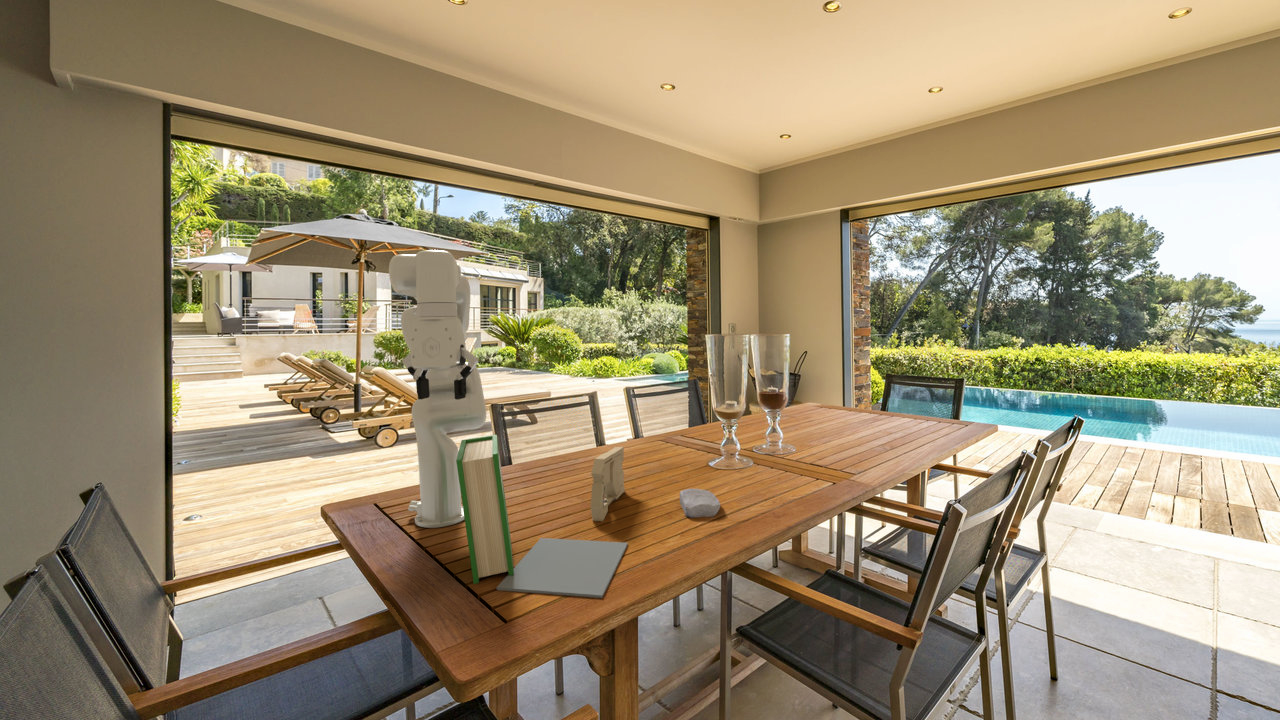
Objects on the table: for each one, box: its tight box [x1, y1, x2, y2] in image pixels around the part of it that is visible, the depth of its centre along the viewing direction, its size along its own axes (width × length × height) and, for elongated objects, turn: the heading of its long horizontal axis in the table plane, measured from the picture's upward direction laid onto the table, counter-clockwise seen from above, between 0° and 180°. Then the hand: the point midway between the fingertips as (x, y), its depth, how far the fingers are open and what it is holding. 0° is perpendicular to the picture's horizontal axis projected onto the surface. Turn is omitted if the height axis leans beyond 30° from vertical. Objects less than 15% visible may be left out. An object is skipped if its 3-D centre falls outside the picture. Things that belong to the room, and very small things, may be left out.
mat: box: [496, 537, 629, 599], centre depth 104 cm, size 20×22×1 cm
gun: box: [590, 446, 626, 522], centre depth 137 cm, size 24×3×15 cm, turn 168°
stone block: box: [679, 488, 721, 519], centre depth 133 cm, size 12×5×10 cm
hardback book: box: [456, 434, 514, 585], centre depth 105 cm, size 18×7×24 cm, turn 16°
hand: (442, 398), depth 106 cm, fingers open, 7 cm apart
